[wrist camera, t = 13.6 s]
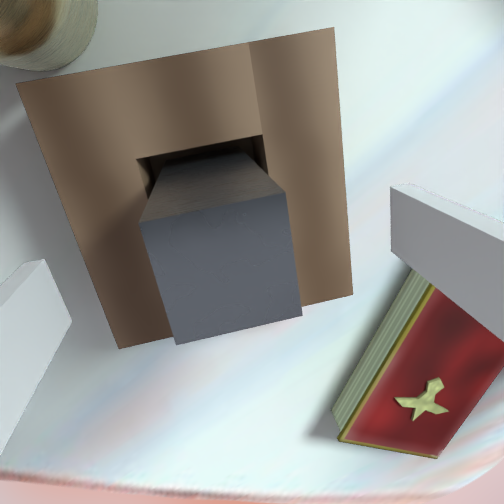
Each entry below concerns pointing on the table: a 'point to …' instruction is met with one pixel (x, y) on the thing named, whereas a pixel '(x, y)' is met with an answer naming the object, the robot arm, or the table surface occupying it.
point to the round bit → (45, 32)
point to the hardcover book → (418, 374)
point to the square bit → (220, 245)
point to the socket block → (189, 143)
